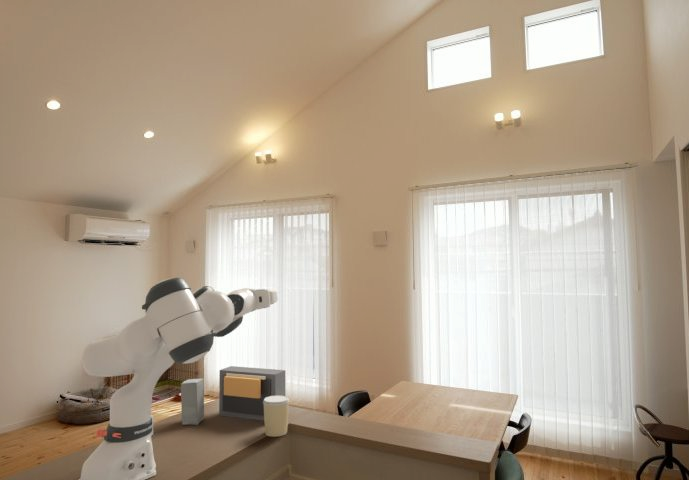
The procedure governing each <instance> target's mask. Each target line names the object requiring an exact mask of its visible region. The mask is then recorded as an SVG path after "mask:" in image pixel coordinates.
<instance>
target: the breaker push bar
mask: <svg viewBox="0 0 689 480" xmlns="http://www.w3.org/2000/svg"><path fill="white" fill-rule="evenodd" d="M224 395H229V396H239V397H248V398H258V399H259V398H261V379H254V378H242V377H230V376H225V377H224Z"/></svg>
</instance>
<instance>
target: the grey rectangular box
mask: <svg viewBox="0 0 689 480" xmlns="http://www.w3.org/2000/svg"><path fill="white" fill-rule="evenodd" d="M225 376H230V377H242V378H254V379H261V398H259V399H258V398H248V397H239V396H229V395H224V377H225ZM218 384H219V389H218V390H219V392H218V395H219V396H218V397H219V400H218V401H219V403H218V406H219V408H218V409H219V410H218V411H219V412H218V414H219V416H222V417H223V416H224V417H232V418H240V419H247V420H256V421H263V422H265V421H264V404H263V401H264V399H265V398H266V397H269V396H277V395H280V396H286V370H285V369H274V368H273V369H272V368H260V367H248V366H246V367H245V366H234V365H229V366H228V367H225V368H221V369H219V383H218Z"/></svg>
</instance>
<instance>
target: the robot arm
mask: <svg viewBox="0 0 689 480" xmlns="http://www.w3.org/2000/svg"><path fill="white" fill-rule="evenodd" d="M191 290H192V289H191V287H190V285H189V284H188V282H187V281H186V280H185V279H184V278H180V277H172V278H171V277H170V278H165V279H162V280H160V281H159V282H157V283H156V284H155V285H153V286H152V287H151V288H150V289H149V290H148V293H147V294H146V296H145V303H144V304H142V305H141V310H145V315H144V316H143V317H141V318H138V319H135V320H133V321H131V322H130V323H128V324H127V325H126V326H125V327H124V328H123V329H122V330H121V332H119V333H116V334H114V335H112V336H109V337H106V338H102V339H98V340H94V341H91V342H90V343H88V344H87V345H86V346H85V348H84V350H83V352H82V355H81V365H82V368H83V370H84V371H85V373H87V375H89V376H90V377H103V378H106V377H108V378H110V377H118V376H126V375H133V377H132V379H131V380H130V381H129V382H128V383H127V384H125V385H123V386H121V387H120V388H119V389H117V390H116V391H115V392H114V393H112V395H111V397H110V400H109V422H108V425H107V427H106V429H101V428H99V429H97V431H96V432H95V435H96V437H99V438H100V437H101V438H103V441H102V442H101V443H100V444H99V445H98V446H97V447H96V448H95V450H94V451H93V452H92V453H91V454H90V455H89V456H88V458H87V459H86V460H85V461H84V463H83V465H82V467H81V472H80V478H79V479H78V480H147V479H150V478H153V477H154V476H156V475H157V469H156V468H157V464H156V461H155V456H154V449H153V439H152V436H151V432H152V426H153V427H154V423H153V424H152V418H151V415H152V400H153V396H154V395H153V394H154V390H155V387H156V385H157V383H158V381H159V380H160V378H161V377H162V376H163V374H164V373H165V372H166V371H167V370H169V369H170V368H171V367H172V366H173V365H174V363H175V364H179V365H183V364H192V363H195V362H198V361H200V360H202V358H204V357H205V356H206V355H207V353H209V352H210V351H211V350H212V347H213V345H214V339H215V338H216V337H217V338H223V337H225V336H227V335H228V334H230V333H232V332H233V331H235V330H236V329H237V328H238V327H240V325H241V324H242V322H243V320H244V316H245V315H247V314H249V313H253V312H254V311H256V310H261V309H266V308H270V306H271V305H274V304H275V303H277V302H278V292H277V291H276V290H269V289H257V288H256V289H255V288H248V287H244V288H240V289H236V290H233V291H231V292H229V293H228V294H226V293H223V292H221V291H217V290H216V291H215V289H214V288H213V287H212V286H208V285H203V286H201V287H198V288H197V289H195V290H193V292H192V291H191Z"/></svg>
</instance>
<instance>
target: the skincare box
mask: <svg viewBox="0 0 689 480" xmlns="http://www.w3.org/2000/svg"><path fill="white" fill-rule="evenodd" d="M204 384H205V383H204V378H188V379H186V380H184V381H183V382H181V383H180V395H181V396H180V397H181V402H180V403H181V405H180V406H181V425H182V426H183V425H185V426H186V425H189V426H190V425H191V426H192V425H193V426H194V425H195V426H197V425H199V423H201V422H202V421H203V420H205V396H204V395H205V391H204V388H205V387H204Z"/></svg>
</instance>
